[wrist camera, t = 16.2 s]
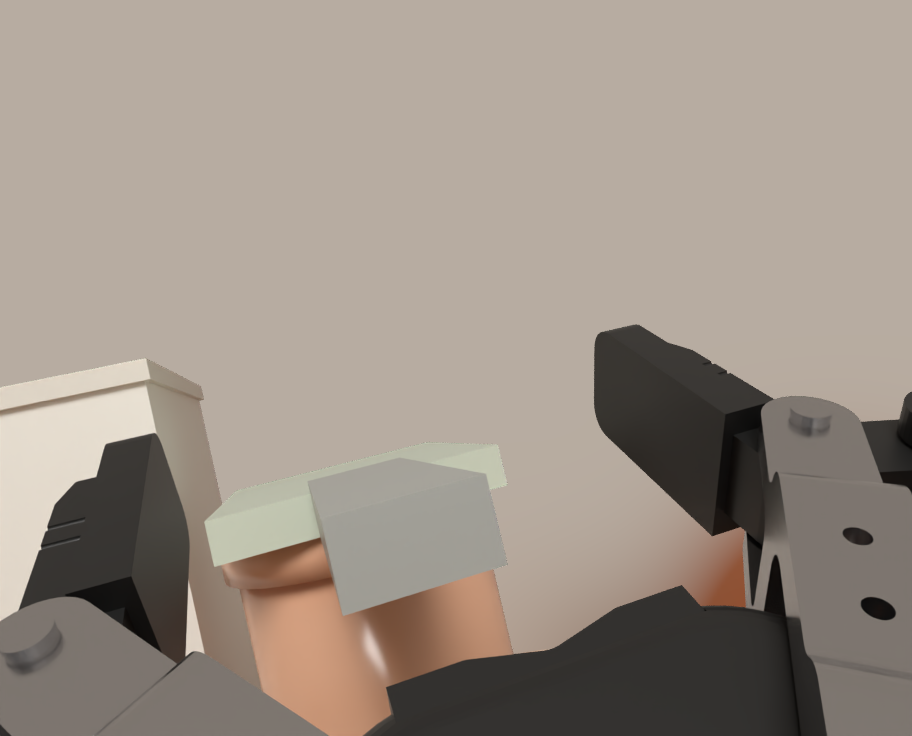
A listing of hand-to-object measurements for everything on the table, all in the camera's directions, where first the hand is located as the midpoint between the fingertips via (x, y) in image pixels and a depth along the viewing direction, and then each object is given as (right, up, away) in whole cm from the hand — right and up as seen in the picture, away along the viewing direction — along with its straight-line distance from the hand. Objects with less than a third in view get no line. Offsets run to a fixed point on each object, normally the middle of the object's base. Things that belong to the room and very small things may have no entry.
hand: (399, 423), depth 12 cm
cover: (-2, -5, +14) cm, 15 cm away
